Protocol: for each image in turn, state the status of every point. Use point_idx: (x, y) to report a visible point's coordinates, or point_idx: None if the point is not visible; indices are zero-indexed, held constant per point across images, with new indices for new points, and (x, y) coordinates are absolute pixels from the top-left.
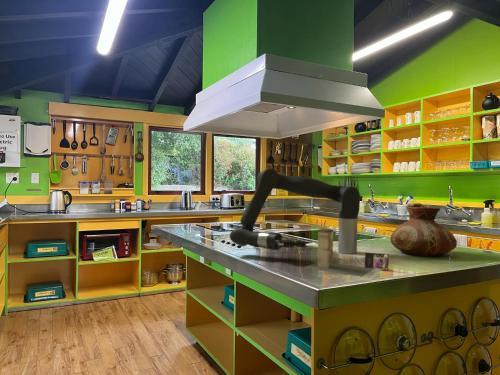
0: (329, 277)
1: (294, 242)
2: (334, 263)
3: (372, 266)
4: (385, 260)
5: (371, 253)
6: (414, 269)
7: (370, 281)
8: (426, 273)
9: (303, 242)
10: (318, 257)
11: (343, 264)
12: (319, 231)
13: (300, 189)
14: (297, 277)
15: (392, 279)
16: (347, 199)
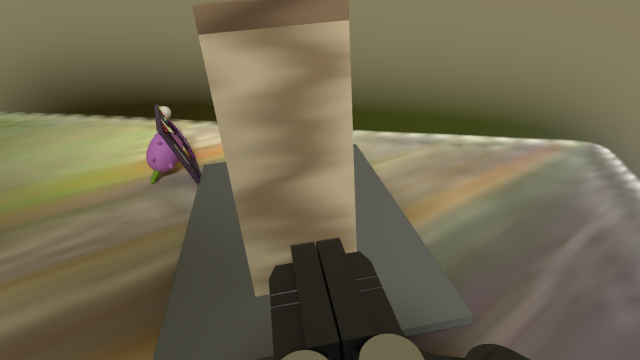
0: (454, 183)
1: (431, 355)
2: (184, 273)
3: (193, 165)
4: (174, 126)
5: (161, 122)
6: (123, 141)
7: (369, 133)
8: None
9: (340, 244)
10: (354, 222)
11: (185, 239)
12: (344, 10)
13: None
14: (625, 233)
15: None
16: None
